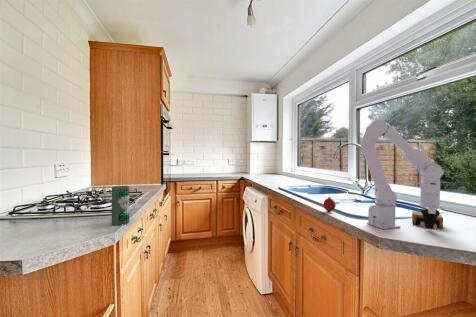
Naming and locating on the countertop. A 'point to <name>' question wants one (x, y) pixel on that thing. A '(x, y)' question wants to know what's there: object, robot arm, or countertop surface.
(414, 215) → the shelf
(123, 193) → the can
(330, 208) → the onion
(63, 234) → the countertop surface
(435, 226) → the tile
